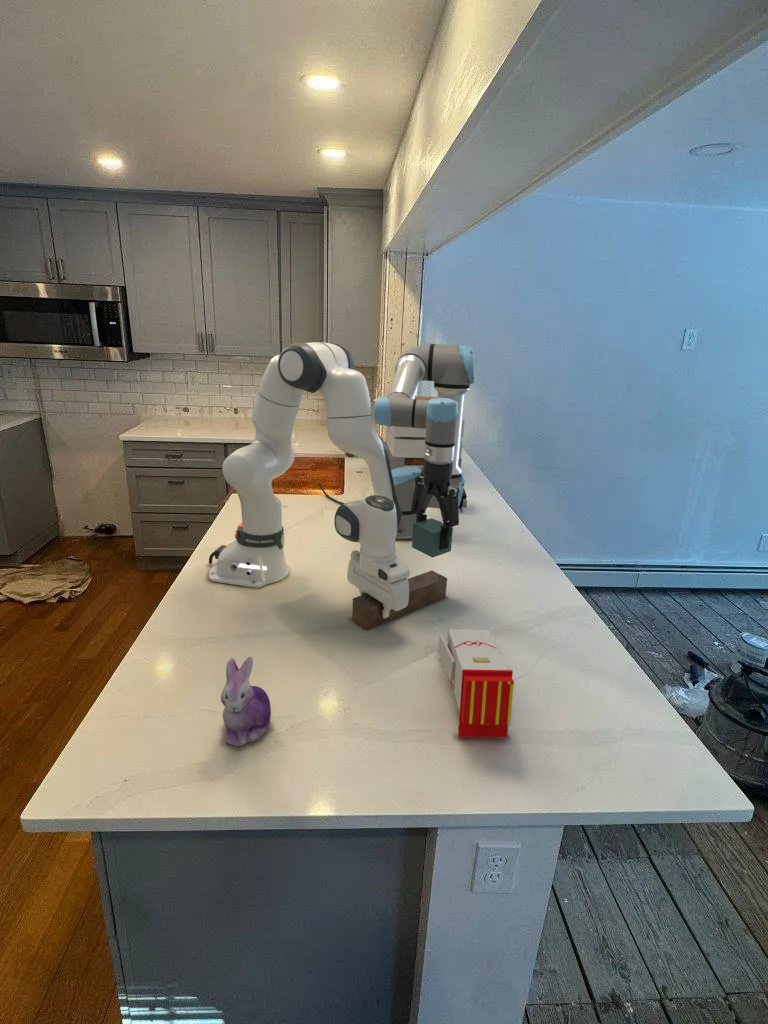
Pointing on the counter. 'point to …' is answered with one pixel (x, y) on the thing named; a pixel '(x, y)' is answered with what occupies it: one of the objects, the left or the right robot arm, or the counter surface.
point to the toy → (478, 682)
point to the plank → (420, 594)
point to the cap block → (429, 537)
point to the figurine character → (463, 501)
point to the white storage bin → (410, 444)
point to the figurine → (244, 705)
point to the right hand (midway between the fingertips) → (432, 542)
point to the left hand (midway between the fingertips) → (375, 610)
